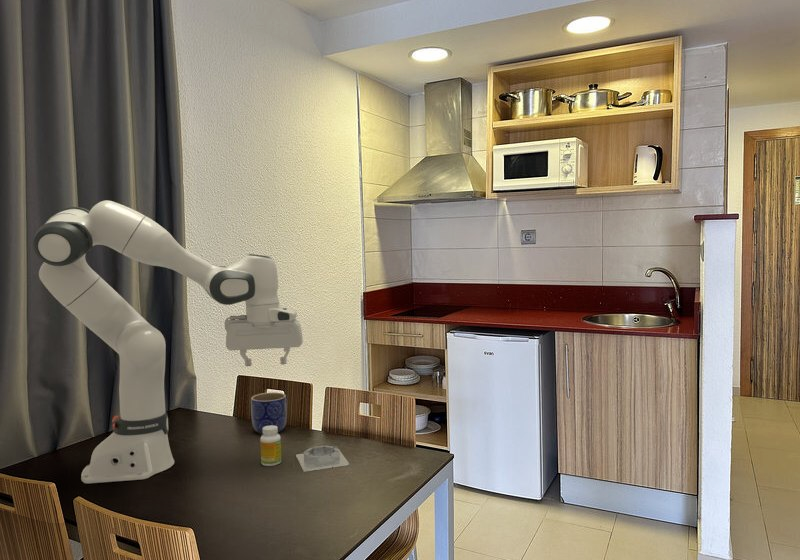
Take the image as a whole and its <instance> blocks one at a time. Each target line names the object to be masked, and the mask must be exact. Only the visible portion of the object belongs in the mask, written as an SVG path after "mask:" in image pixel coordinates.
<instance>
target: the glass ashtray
mask: <svg viewBox="0 0 800 560" xmlns="http://www.w3.org/2000/svg"><path fill="white" fill-rule="evenodd" d="M295 456H296V457H295V458H296V459H297V461H298V463H299V465H300V467H301V469H302V471H303V472H304V473H305V472H311V471H319V470H326V469H331V468H332V467H333V468H340V467H346V466H349V465H350V462H349V461H348V460H347V458H346V457H345V456H344V454H343V453H342V452H341V450H340V449H339V448H338V447H337V446H331V445H326V444H325V445H319V446H318V445H317V446H316V445H315V446H312V447H309V448H308V449H306V450H304V451H303V453H298V454H295ZM333 468H332V469H333Z"/></svg>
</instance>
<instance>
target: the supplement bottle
mask: <svg viewBox="0 0 800 560" xmlns="http://www.w3.org/2000/svg"><path fill="white" fill-rule="evenodd" d="M277 432H278V427H277V426H273V425H270V426H265V427H263V434H261V436H260V438H259V439H260V440H259V441H260V442H259V443H260V463H261V465H263V466H265V467H274V466H277V465H279V464H281V463H282V442H281V441H282V440H281V439H282V437H281V435H280V434H279V432H278V433H277Z"/></svg>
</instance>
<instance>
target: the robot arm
mask: <svg viewBox="0 0 800 560" xmlns="http://www.w3.org/2000/svg"><path fill="white" fill-rule="evenodd" d="M32 243H33V250H34V253H35V254H36V256H37V258H39V260H41V261H42V264H41V265H40V268H39V271H38V277H39V280H40V282H41V283H42V284H43V286H44V287H45V288H46V289H47V290H48V292H49V294H51V295H52V297H54V298H55V299H56V300H57V301H58V302H59V303H60V304H61V305H62V306H63V307H64V308H65V309H67V311H69V312H70V313H71V315H73V316H74V317H75V318H76V319H78V320H79V321H80V322H81V323H82V324H83V325H84V326H85V327H87V329H89V330H90V331H91V332H93V333H94V334H95V335H96V336H97V337H99V338H100V339H101V340H102V341H103V342H104V343H105V344H106V345H108V346H109V347H110V348H111V349H113V351H114V352H116V353H117V354H118V356H119V382H118V383H119V384H118V386H119V387H118V393H119V394H118V395H119V411H120V412H119V413H120V415H114V416H113V417H112V421H111V423H112V433H111V434H110V435H109V436H108V437H106V438H104V440H103V441H101V442H100V443H99V444H98V445H96V446H95V448H94V449H93V451H92V454H91V458H90V463H89V464H87V465H86V466H85V467H84V468H83V470H82V472H81V475H80V476H81V477H80V480H81V482H83V484H98V483H112V482H124V481H137V480H138V481H139V480H146V479H149V478H150V477H152V476H154V475H156V474H158V473H162V472H163V471H166V470H168V469H170V468H172V466H173V465H174V464H175V459H174V457H173V454H172V450H171V447H170V443H169V437H168V433H169V417H168V413H167V411H166V400H165V398H166V397H165V374H166V373H165V372H166V355H167V353H166V347H167V345H166V339H165V337H164V335H163V334H162V332H161V331H160V330H158V329H157V328H156V327H154V326H153V325H151V323H149V322H148V321H147V320H146V318H144V317H143V316H142V315H141V314H140V313H139V312H138V311H137V310H135V308H134V307H133V306H132V305H131V304H130V303H128V301H127V300H125V298H124V297H122V295H121V294H119V293H118V292H117V291H116V290H115V289H114V288H113V287H112V286H111V285H110V284H109V283H107V281H106V280H104V279H103V278H102V276H100V275H99V274H98V273H97V272H96V271H95V270H93V269H92V268H91V266H90V265H89V263H88V262H87V260H86V255H87V254H89V252H90V251H91V250H92V249H93V247H94V246H97V245H101V246H105V247H108V248H110V249H112V250H114V251H116V252H118V253H119V254H122V255H123V256H125V257H127V258H129V259H131V260H133V261H136V262H139V263H142V264H145V265H148V266H154V267H161V268H166V269H170V270H172V271H174V272H176V273H179V274H180V275H182V276H184V277H186V278H188V279H189V280H191V281H193V282H195V283H197V284H198V285H200V286H201V287H202V288H203V289H204V291H205V292H206V294H208V296H209V297H210V298H211V299H212V300H214V301H215V302H217V303H218V304H220V305H223V306H224V305H225V306H232V305H235V304H238V303H241V302H244V303H245V313H246V314H241V315H240V314H239V315H230V316H229V317H227V318H226V319H225V321H224V331H225V332H226V337H225V348H226V349H227V350H228V351H230V352H231V351H239V354H240V357H241V358H242V359H243V360H244V366H245V367H252V358H249V357H248V356H247V353H248V352H247V351H248V350H269V349H283V352H284V353H285V354H284V356H280V358H279V359H280V365H287V363H288V362H287V358H288V355H289V354H290V351H291V348H299V347H301V346H302V345H303V342H304V338H303V330H302V326H301V324H300V322H299V320H298V319H297V316H298V315H297V311H296V310H295V309H291V308H288V307H282V306H280V300H279V296H278V290H279V278H278V277H279V276H278V270H277V269H278V268H277V265H276V261H275V260H274V259H273V258H272V257H271V256H268V255H262V254H254V253H250V254H246V255H245V256H244V257H243V258H241V259H240V260H238V261H236V262H234V263H233V264H231V265H229V266H223V265H215V264H212V263H210V262H208V261H206V260H204V259H203V258H201V257H200V256H198V255H196V254H194V253H192V252H190V251H189V250H187V249H186V248H184V247H183V246H182V245H180V244H179V242H178V241H177V240H176V239H175V238H174V237H173V235H172V234H171V233H170V232H169V231H167V229H166V228H164V227H163V226H161V225H160V224H159V223H157V222H156V221H155V220H153V219H152V218H150V217H148V216H146V215H144V214H143V213H141V212H140V211H137V210H135V209H133V208H131V207H128V206H126V205H123V204H121V203H119V202H115V201H114V200H113V201H112V200H110V199H109V200H102V201H99V202H98V203H96V204H95V205H93V206H92V207H91V209H90V210H89V209H87V208H85V207H80V206H72V207H67V208H64V209H62V210H61V211H59V212H58V213H55V214H54V215H52V216H50V218H49V219H48V220H46V222H45V223H44V224H42V225H41V226H40V227H39V228H38V229H37V231H36V233H35V235H34V237H33V242H32Z"/></svg>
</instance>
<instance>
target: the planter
mask: <svg viewBox="0 0 800 560" xmlns="http://www.w3.org/2000/svg"><path fill="white" fill-rule="evenodd" d="M287 407H288V406H287V395H286V394H285V393H282V392H262V393H258V394H254V395H253V396H251V397H250V414H251V415H250V416H251V423H252V427H253V429H254V430H255V432H257V434H261V435H264V434H263V427H265V426H270V425H273V426H277V427H278V432H277V434H279V433H280V432H281V431H282V430H283V429H285V426H286V424H287V415H288V413H287V411H288V410H287V409H288V408H287Z"/></svg>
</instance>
